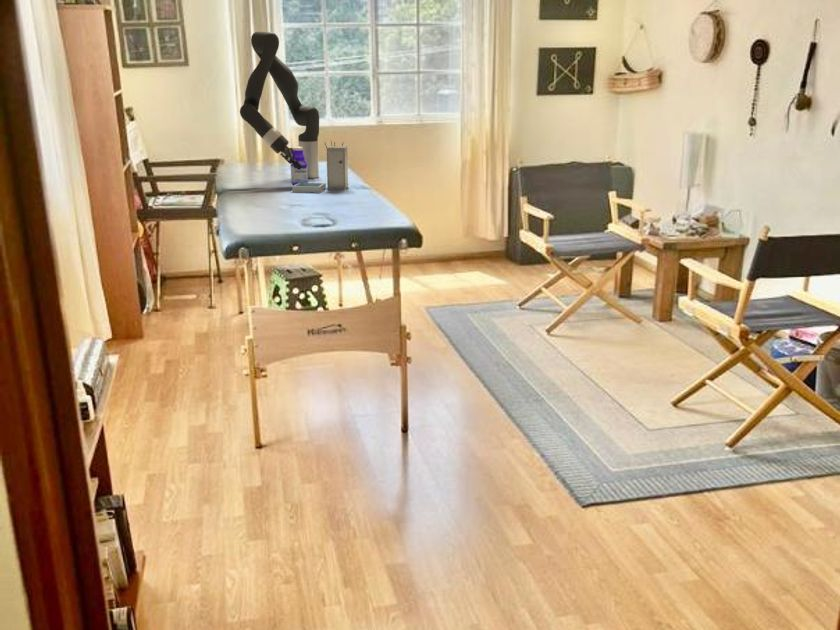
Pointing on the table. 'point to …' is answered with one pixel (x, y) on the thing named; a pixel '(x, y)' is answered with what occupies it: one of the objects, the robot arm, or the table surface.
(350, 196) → the table surface
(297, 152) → the bottle
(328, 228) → the table surface
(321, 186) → the tray
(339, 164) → the grey slotted box
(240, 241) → the table surface
